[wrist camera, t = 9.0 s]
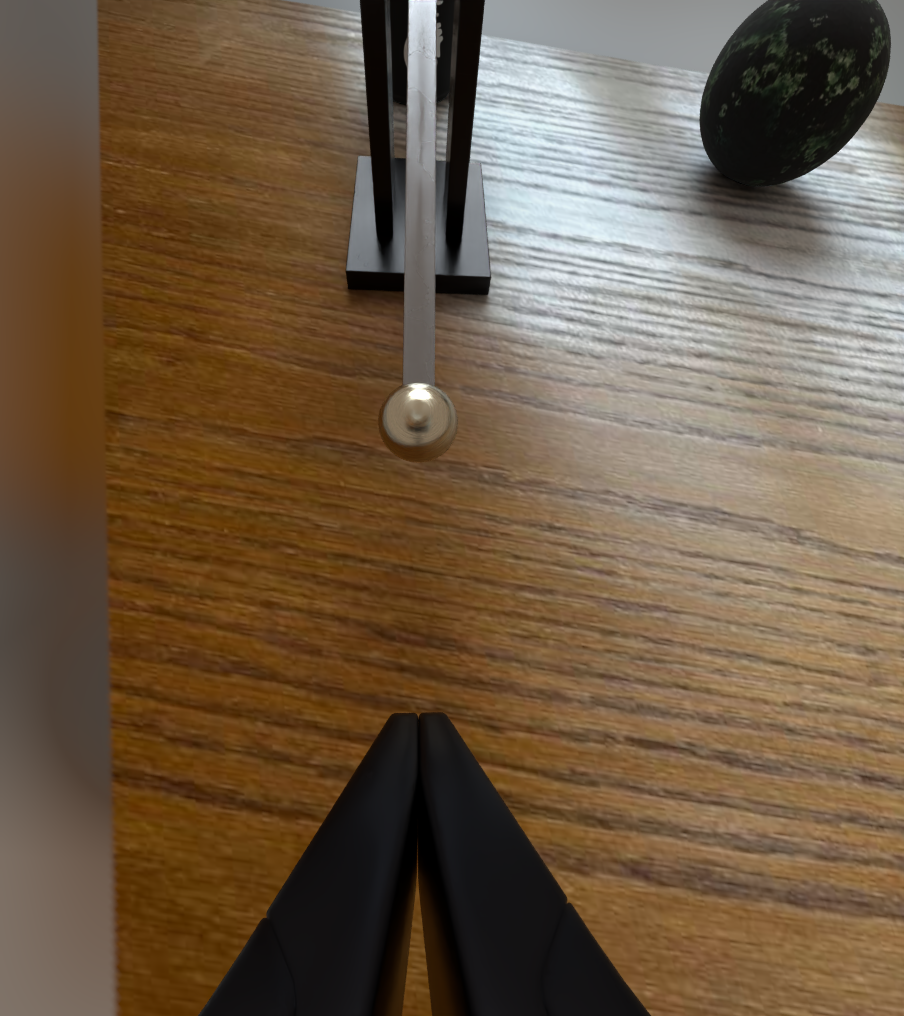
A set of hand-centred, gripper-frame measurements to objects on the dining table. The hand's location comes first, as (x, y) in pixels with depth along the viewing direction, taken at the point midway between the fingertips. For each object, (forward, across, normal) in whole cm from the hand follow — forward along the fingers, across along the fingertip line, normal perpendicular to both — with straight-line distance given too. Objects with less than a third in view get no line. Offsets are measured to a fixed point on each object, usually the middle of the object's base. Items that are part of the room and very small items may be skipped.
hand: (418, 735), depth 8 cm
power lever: (+17, 0, -12) cm, 20 cm away
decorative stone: (+34, -23, -18) cm, 45 cm away
